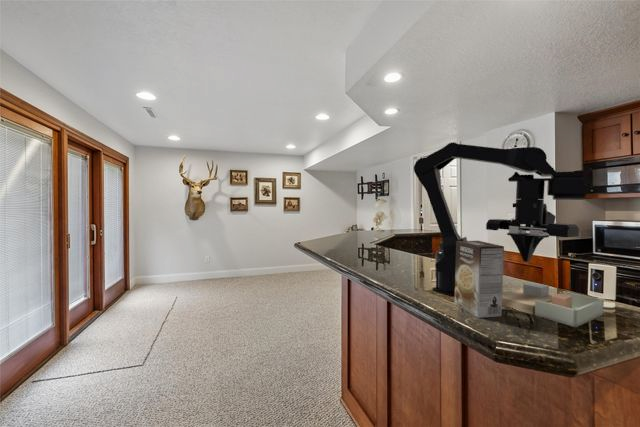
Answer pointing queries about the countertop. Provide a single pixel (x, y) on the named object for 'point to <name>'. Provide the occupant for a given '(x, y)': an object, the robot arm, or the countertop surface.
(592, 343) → the countertop surface
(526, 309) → the deck
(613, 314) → the countertop surface
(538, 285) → the tile slate
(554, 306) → the tray
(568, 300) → the tile terracotta
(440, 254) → the supplement bottle
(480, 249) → the coffee box
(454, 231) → the robot arm
